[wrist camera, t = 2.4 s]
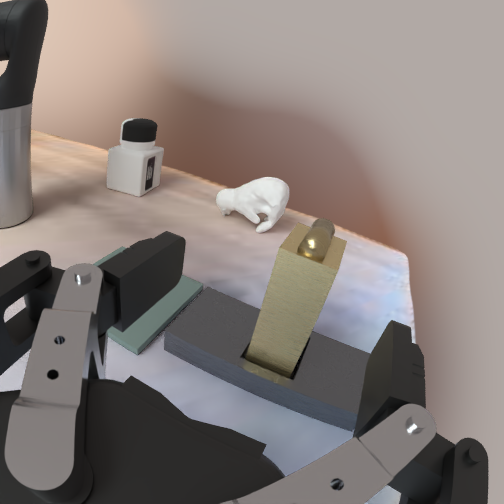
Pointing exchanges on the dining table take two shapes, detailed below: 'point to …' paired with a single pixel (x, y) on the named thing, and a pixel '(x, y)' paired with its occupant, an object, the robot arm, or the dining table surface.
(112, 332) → the mat
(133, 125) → the container
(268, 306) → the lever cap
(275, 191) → the white humped figurine
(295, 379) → the plane body
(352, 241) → the dining table surface
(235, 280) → the dining table surface
